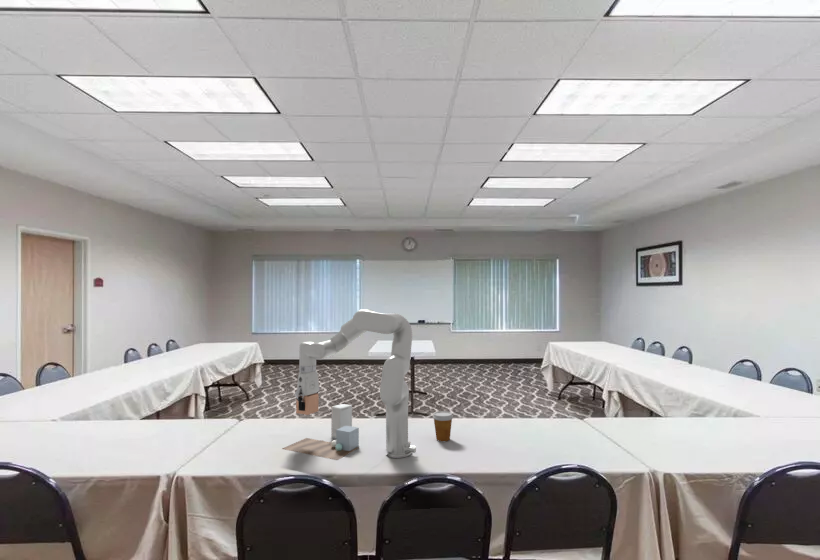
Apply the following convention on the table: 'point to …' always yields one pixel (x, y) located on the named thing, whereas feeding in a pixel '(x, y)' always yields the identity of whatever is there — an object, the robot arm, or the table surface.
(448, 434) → the disposable coffee cup
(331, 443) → the marble ivory
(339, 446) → the marble teal
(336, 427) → the skincare box
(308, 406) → the peach cube block
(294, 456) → the table surface
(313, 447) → the walnut board
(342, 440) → the pale blue cube
